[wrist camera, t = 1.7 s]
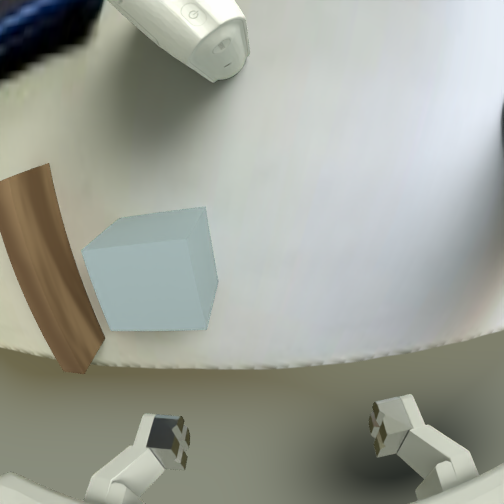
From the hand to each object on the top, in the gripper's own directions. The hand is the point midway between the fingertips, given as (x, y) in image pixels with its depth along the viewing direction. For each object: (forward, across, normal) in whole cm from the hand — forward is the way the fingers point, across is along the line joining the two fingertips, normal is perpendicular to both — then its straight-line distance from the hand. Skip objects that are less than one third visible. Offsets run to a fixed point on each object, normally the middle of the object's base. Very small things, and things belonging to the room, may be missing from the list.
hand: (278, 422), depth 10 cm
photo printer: (+18, +4, -18) cm, 25 cm away
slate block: (+18, +9, 0) cm, 20 cm away
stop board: (+18, +21, 0) cm, 27 cm away
